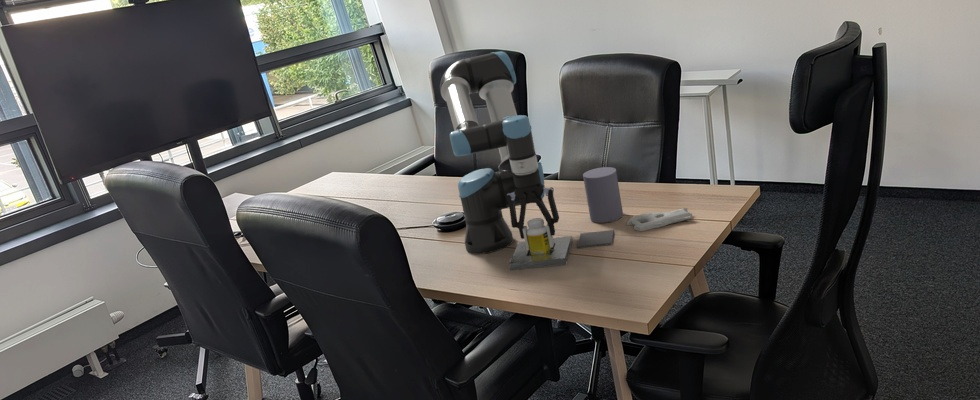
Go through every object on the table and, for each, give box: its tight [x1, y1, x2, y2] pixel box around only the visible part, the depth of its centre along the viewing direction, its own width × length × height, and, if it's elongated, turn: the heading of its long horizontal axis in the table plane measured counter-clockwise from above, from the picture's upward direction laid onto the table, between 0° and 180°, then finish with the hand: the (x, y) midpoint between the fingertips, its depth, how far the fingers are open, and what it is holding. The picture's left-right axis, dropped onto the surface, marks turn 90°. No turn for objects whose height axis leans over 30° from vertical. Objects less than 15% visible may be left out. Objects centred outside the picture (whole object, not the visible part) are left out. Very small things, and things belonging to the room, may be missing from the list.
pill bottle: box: [527, 217, 553, 256], centre depth 215 cm, size 6×6×11 cm
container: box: [582, 166, 624, 224], centre depth 233 cm, size 10×10×15 cm
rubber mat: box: [576, 229, 615, 249], centre depth 219 cm, size 10×10×1 cm
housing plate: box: [508, 235, 573, 271], centre depth 216 cm, size 16×16×2 cm
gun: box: [626, 207, 694, 232], centre depth 222 cm, size 18×4×10 cm
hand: (540, 246), depth 215 cm, fingers closed on pill bottle, 6 cm apart
